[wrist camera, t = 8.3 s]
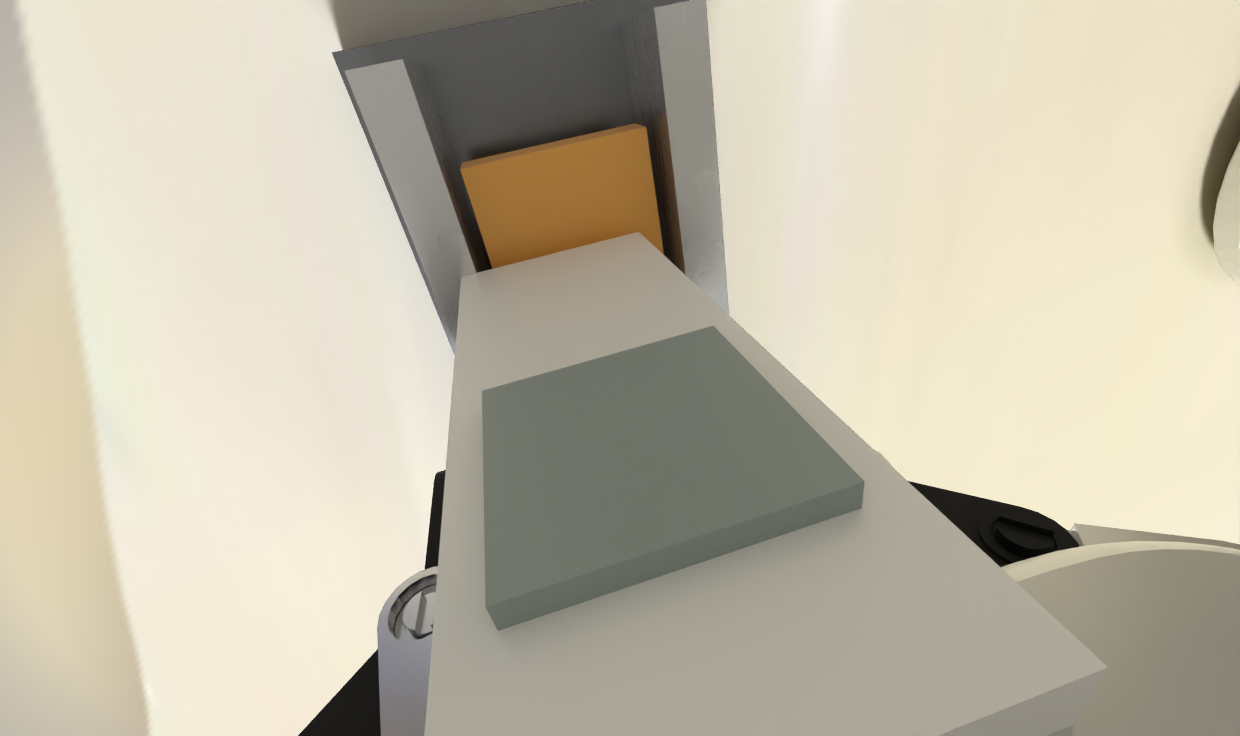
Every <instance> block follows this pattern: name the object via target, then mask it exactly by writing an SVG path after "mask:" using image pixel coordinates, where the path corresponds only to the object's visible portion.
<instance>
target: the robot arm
mask: <svg viewBox="0 0 1240 736" xmlns="http://www.w3.org/2000/svg"><path fill="white" fill-rule="evenodd" d="M1213 236H1214V249H1215V253H1216V255H1217V258H1218V260H1219V263H1220V265H1221V267H1222V269H1223V270H1224V271H1225V272H1226V273H1227V274H1228V275H1229V276H1230V277H1231V278H1232V279H1233V280H1234V281H1237V282H1240V141H1239V143H1238V145H1237V147H1236V150H1235V152H1234V154H1233V156H1232V158H1231V160H1230V163H1229V165H1228V167H1227V170H1226V173H1225V176H1224V179H1223V182H1222V186H1221V189H1220V192H1219V195H1218V198H1217V203H1216V210H1215V216H1214V223H1213ZM873 450H874V449H873ZM875 451H876V450H875ZM876 452H877V451H876ZM877 453H878V454H879V455H880V456H881V457H882V458H883V459H884V460H885V461H886V462H887V463H889V462H888V461H887V460H886V459H885V458H884V457H883V456H882V455H881V454H880V453H879V452H877ZM889 464H890V463H889ZM890 465H891V464H890ZM445 472H446V470H444V471H441V472H438V473H437V474H436V475H435V480H434V488H433V497H432V507H431V516H430V525H429V535H428V544H427V553H426V563H425V570H423V571H420V572H418V573H416V574H415V575H413V576H411V577H410V578H408V579H407V580H405V581H404V582H403V583H402V584H401V585H400V586H399V587H397V588H396V589H395V590H394V592H393V593H392V594H391V595H390V597H389V598H388V599H387V601H386V602H385V604H384V606H383V608H382V610H381V613H380V615H379V620H378V627H377V633H378V649H377V650H376V652H375V653H374V654H373V655H372V656H371V657H370V658H369V659H368V660H367V661H366V662H365V664H364V665H363V666H362V667H361V668H360V669H359V670H358V671H357V672H356V673H355V674H354V676H353V677H352V678H351V679H350V680H349V681H348V682H347V683H346V684H345V685H344V686H343V687H342V689H341V690H340V691H339V692H338V693H337V694H336V695H335V696H334V697H333V698H332V699H331V701H330V702H329V703H328V704H327V705H326V706H325V707H324V708H323V709H322V710H321V711H320V712H319V714H318V715H317V716H316V717H315V718H314V719H313V720H312V721H311V722H310V723H309V724H308V726H307V727H306V728H305V729H304V730H303V731H302V732H301V733H300V734H299V735H298V736H424V734H425V721H426V709H427V697H428V684H429V672H430V659H431V647H432V634H433V622H434V609H435V597H436V584H437V572H438V560H439V547H440V535H441V522H442V510H443V497H444V485H445ZM908 482H909V481H908ZM909 483H910V484H911V485H912V486H913V487H914V488H915V489H917V490H918V491H919V492H920V493H921V494H922V495H923V496H924V497H925V498H926V499H927V500H928V501H929V502H931V503H932V504H933V505H934V506H935V507H936V508H937V509H938V510H939V511H940V512H941V513H942V514H943V515H945V516H946V517H947V518H948V519H949V520H950V521H951V522H952V523H953V524H954V525H955V526H956V527H957V528H959V529H960V530H961V531H962V532H963V533H964V534H965V535H966V536H967V537H968V538H969V539H970V540H971V541H973V542H974V543H975V544H976V545H977V546H978V547H979V548H980V549H981V550H982V551H983V552H984V553H985V554H987V555H988V556H989V557H990V558H991V559H992V560H993V561H994V562H995V563H996V564H997V565H998V566H999V567H1001V568H1002V569H1003V570H1004V571H1005V572H1006V573H1007V574H1008V575H1009V576H1010V577H1011V578H1012V579H1013V580H1015V581H1016V582H1017V583H1018V584H1019V585H1020V586H1021V587H1022V588H1023V589H1024V590H1025V591H1026V592H1027V593H1029V594H1030V595H1031V596H1032V597H1033V598H1034V599H1035V600H1036V601H1037V602H1038V603H1039V604H1040V605H1041V606H1043V607H1044V608H1045V609H1046V610H1047V611H1048V612H1049V613H1050V614H1051V615H1052V616H1053V617H1054V618H1056V619H1057V620H1058V621H1059V622H1060V623H1061V624H1062V625H1063V626H1064V627H1065V628H1066V629H1067V630H1068V631H1070V632H1071V633H1072V634H1073V635H1074V636H1075V637H1076V638H1077V639H1078V640H1079V641H1080V642H1081V643H1082V644H1084V645H1085V646H1086V647H1087V648H1088V649H1089V650H1090V651H1091V652H1092V653H1093V654H1094V655H1095V656H1096V657H1098V658H1099V659H1100V660H1101V661H1102V662H1103V663H1104V664H1105V665H1106V666H1107V667H1108V668H1107V670H1106V671H1105V673H1104V675H1103V676H1102V678H1101V680H1100V681H1099V683H1098V685H1097V686H1096V688H1095V690H1094V691H1093V693H1092V695H1091V696H1090V698H1089V700H1088V701H1087V703H1086V704H1085V706H1084V708H1083V709H1082V711H1081V713H1080V714H1079V716H1078V718H1077V719H1076V721H1075V723H1074V724H1073V725H1072V726H1069V727H1067V728H1064V729H1062V730H1059V731H1057V732H1054V733H1052V734H1049V735H1047V736H1240V545H1239V544H1235V543H1230V542H1225V541H1219V540H1211V539H1202V538H1194V537H1185V536H1177V535H1168V534H1160V533H1151V532H1143V531H1134V530H1126V529H1117V528H1108V527H1100V526H1091V525H1083V524H1074V525H1073V527H1072V529H1071V530H1066V529H1065V528H1063V527H1062V526H1061V525H1059V524H1058V523H1057V522H1055V521H1054V520H1052V519H1050V518H1048V517H1046V516H1044V515H1042V514H1040V513H1038V512H1035V511H1032V510H1029V509H1026V508H1023V507H1019V506H1015V505H1010V504H1006V503H1001V502H997V501H993V500H988V499H984V498H980V497H975V496H971V495H966V494H962V493H958V492H953V491H949V490H944V489H940V488H936V487H931V486H927V485H923V484H918V483H914V482H909Z"/></svg>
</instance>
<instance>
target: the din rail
mask: <svg viewBox="0 0 1240 736" xmlns="http://www.w3.org/2000/svg"><path fill="white" fill-rule="evenodd" d="M332 54H333V57H334V59H335V62H336V64H337V66H338V69H339V71H340V74H341V76H342V79H343V81H344V84H345V86H346V89H347V91H348V94H349V96H350V99H351V101H352V103H353V106H354V108H355V111H356V113H357V116H358V118H359V121H360V123H361V126H362V128H363V131H364V133H365V135H366V138H367V140H368V143H369V145H370V148H371V150H372V153H373V155H374V158H375V160H376V163H377V165H378V167H379V170H380V172H381V175H382V177H383V180H384V182H385V185H386V187H387V190H388V192H389V195H390V197H391V200H392V202H393V204H394V207H395V209H396V212H397V214H398V217H399V219H400V222H401V224H402V227H403V229H404V232H405V234H406V236H407V239H408V241H409V244H410V246H411V249H412V251H413V254H414V256H415V259H416V261H417V264H418V266H419V269H420V271H421V273H422V276H423V278H424V281H425V283H426V286H427V288H428V291H429V293H430V296H431V298H432V301H433V303H434V305H435V308H436V310H437V313H438V315H439V318H440V320H441V323H442V325H443V328H444V330H445V333H446V335H447V337H448V340H449V342H450V345H451V347H452V350H453V352H454V355H455V348H456V335H457V323H458V311H459V298H460V286H461V277H463V276H467V275H471V274H475V273H478V272H482V271H486V270H490V269H493V268H492V265H491V262H490V259H489V256H488V253H487V250H486V247H485V244H484V241H483V238H482V235H481V232H480V229H479V226H478V223H477V219H476V216H475V213H474V210H473V207H472V204H471V201H470V198H469V195H468V192H467V189H466V186H465V183H464V180H463V177H462V174H461V171H460V168H461V165H462V162H466V161H471V160H475V159H480V158H484V157H488V156H493V155H497V154H502V153H506V152H511V151H515V150H519V149H524V148H528V147H533V146H537V145H541V144H546V143H550V142H555V141H559V140H564V139H568V138H572V137H577V136H581V135H586V134H590V133H595V132H599V131H603V130H608V129H612V128H617V127H621V126H626V125H630V124H634V123H635V124H638V125H642V126H645V127H646V129H647V136H648V143H649V150H650V158H651V165H652V172H653V179H654V186H655V194H656V201H657V208H658V215H659V223H660V230H661V237H662V244H663V251H664V256H665V257H667V258H668V259H669V260H670V261H671V262H672V263H673V264H674V265H675V266H676V267H677V268H678V269H679V270H681V271H682V272H683V273H684V274H685V275H686V276H687V277H688V278H689V279H690V280H691V281H692V282H694V283H695V284H696V285H697V286H698V287H699V288H700V289H701V290H702V291H703V292H704V293H705V294H706V295H708V296H709V297H710V298H711V299H712V300H713V301H714V302H715V303H716V304H717V305H718V306H719V307H720V308H722V309H723V310H724V311H725V312H726V313H727V314H728V315H729V308H728V294H727V280H726V267H725V253H724V240H723V226H722V212H721V199H720V185H719V172H718V158H717V144H716V131H715V117H714V103H713V90H712V76H711V63H710V49H709V35H708V22H707V8H706V0H593V1H588V2H583V3H578V4H573V5H568V6H563V7H558V8H553V9H548V10H543V11H538V12H533V13H528V14H523V15H518V16H513V17H508V18H503V19H498V20H493V21H488V22H483V23H478V24H473V25H468V26H463V27H458V28H453V29H448V30H443V31H438V32H433V33H428V34H423V35H418V36H413V37H408V38H403V39H398V40H393V41H388V42H382V43H377V44H372V45H367V46H362V47H357V48H352V49H347V50H342V51H337V52H332Z"/></svg>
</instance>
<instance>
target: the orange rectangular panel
mask: <svg viewBox="0 0 1240 736" xmlns="http://www.w3.org/2000/svg"><path fill="white" fill-rule="evenodd" d="M460 171H461V174H462V177H463V180H464V183H465V186H466V189H467V192H468V195H469V198H470V201H471V204H472V207H473V210H474V213H475V216H476V219H477V223H478V226H479V229H480V232H481V235H482V238H483V241H484V244H485V247H486V250H487V253H488V256H489V259H490V262H491V265H492V268H493V269H494V268H498V267H502V266H506V265H510V264H514V263H517V262H521V261H525V260H529V259H533V258H537V257H541V256H545V255H549V254H553V253H557V252H561V251H565V250H569V249H573V248H576V247H580V246H584V245H588V244H592V243H596V242H600V241H604V240H608V239H612V238H616V237H620V236H624V235H628V234H632V233H635V232H640V233H641V234H642V235H643V236H644V237H645V238H646V239H647V240H648V241H649V242H650V243H651V244H653V245H654V246H655V247H656V248H657V249H658V250H659V251H660V252H661V253H662V254H663V255H664V251H663V244H662V237H661V230H660V223H659V215H658V208H657V201H656V194H655V186H654V179H653V172H652V165H651V158H650V150H649V143H648V136H647V129H646V127H645V126H642V125H638V124H635V123H634V124H630V125H626V126H621V127H617V128H612V129H608V130H603V131H599V132H595V133H590V134H586V135H581V136H577V137H572V138H568V139H564V140H559V141H555V142H550V143H546V144H541V145H537V146H533V147H528V148H524V149H519V150H515V151H511V152H506V153H502V154H497V155H493V156H488V157H484V158H480V159H475V160H471V161H466V162H462V165H461V168H460Z"/></svg>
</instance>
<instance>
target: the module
mask: <svg viewBox="0 0 1240 736" xmlns="http://www.w3.org/2000/svg"><path fill="white" fill-rule="evenodd" d="M1107 668H1108V667H1107V666H1106V665H1105V664H1104V663H1103V662H1102V661H1101V660H1100V659H1099V658H1098V657H1096V656H1095V655H1094V654H1093V653H1092V652H1091V651H1090V650H1089V649H1088V648H1087V647H1086V646H1085V645H1084V644H1082V643H1081V642H1080V641H1079V640H1078V639H1077V638H1076V637H1075V636H1074V635H1073V634H1072V633H1071V632H1070V631H1068V630H1067V629H1066V628H1065V627H1064V626H1063V625H1062V624H1061V623H1060V622H1059V621H1058V620H1057V619H1056V618H1054V617H1053V616H1052V615H1051V614H1050V613H1049V612H1048V611H1047V610H1046V609H1045V608H1044V607H1043V606H1041V605H1040V604H1039V603H1038V602H1037V601H1036V600H1035V599H1034V598H1033V597H1032V596H1031V595H1030V594H1029V593H1027V592H1026V591H1025V590H1024V589H1023V588H1022V587H1021V586H1020V585H1019V584H1018V583H1017V582H1016V581H1015V580H1013V579H1012V578H1011V577H1010V576H1009V575H1008V574H1007V573H1006V572H1005V571H1004V570H1003V569H1002V568H1001V567H999V566H998V565H997V564H996V563H995V562H994V561H993V560H992V559H991V558H990V557H989V556H988V555H987V554H985V553H984V552H983V551H982V550H981V549H980V548H979V547H978V546H977V545H976V544H975V543H974V542H973V541H971V540H970V539H969V538H968V537H967V536H966V535H965V534H964V533H963V532H962V531H961V530H960V529H959V528H957V527H956V526H955V525H954V524H953V523H952V522H951V521H950V520H949V519H948V518H947V517H946V516H945V515H943V514H942V513H941V512H940V511H939V510H938V509H937V508H936V507H935V506H934V505H933V504H932V503H931V502H929V501H928V500H927V499H926V498H925V497H924V496H923V495H922V494H921V493H920V492H919V491H918V490H917V489H915V488H914V487H913V486H912V485H911V484H910V483H909V482H908V481H907V480H906V479H905V478H904V477H903V476H901V475H900V474H899V473H898V472H897V471H896V470H895V469H894V468H893V467H892V466H891V465H890V464H889V463H887V462H886V461H885V460H884V459H883V458H882V457H881V456H880V455H879V454H878V453H877V452H876V451H875V450H873V449H872V448H871V447H870V446H869V445H868V444H867V443H866V442H865V441H864V440H863V439H862V438H860V437H859V436H858V435H857V434H856V433H855V432H854V431H853V430H852V429H851V428H850V427H849V426H848V425H846V424H845V423H844V422H843V421H842V420H841V419H840V418H839V417H838V416H837V415H836V414H835V413H834V412H832V411H831V410H830V409H829V408H828V407H827V406H826V405H825V404H824V403H823V402H822V401H821V400H820V399H818V398H817V397H816V396H815V395H814V394H813V393H812V392H811V391H810V390H809V389H808V388H807V387H806V386H804V385H803V384H802V383H801V382H800V381H799V380H798V379H797V378H796V377H795V376H794V375H793V374H792V373H790V372H789V371H788V370H787V369H786V368H785V367H784V366H783V365H782V364H781V363H780V362H779V361H778V360H776V359H775V358H774V357H773V356H772V355H771V354H770V353H769V352H768V351H767V350H766V349H765V348H764V347H762V346H761V345H760V344H759V343H758V342H757V341H756V340H755V339H754V338H753V337H752V336H751V335H750V334H748V333H747V332H746V331H745V330H744V329H743V328H742V327H741V326H740V325H739V324H738V323H737V322H736V321H734V320H733V319H732V318H731V317H730V316H729V315H728V314H727V313H726V312H725V311H724V310H723V309H722V308H720V307H719V306H718V305H717V304H716V303H715V302H714V301H713V300H712V299H711V298H710V297H709V296H708V295H706V294H705V293H704V292H703V291H702V290H701V289H700V288H699V287H698V286H697V285H696V284H695V283H694V282H692V281H691V280H690V279H689V278H688V277H687V276H686V275H685V274H684V273H683V272H682V271H681V270H679V269H678V268H677V267H676V266H675V265H674V264H673V263H672V262H671V261H670V260H669V259H668V258H667V257H665V256H664V255H663V254H662V253H661V252H660V251H659V250H658V249H657V248H656V247H655V246H654V245H653V244H651V243H650V242H649V241H648V240H647V239H646V238H645V237H644V236H643V235H642V234H641V233H640V232H635V233H632V234H628V235H624V236H620V237H616V238H612V239H608V240H604V241H600V242H596V243H592V244H588V245H584V246H580V247H576V248H573V249H569V250H565V251H561V252H557V253H553V254H549V255H545V256H541V257H537V258H533V259H529V260H525V261H521V262H517V263H514V264H510V265H506V266H502V267H498V268H494V269H490V270H486V271H482V272H478V273H475V274H471V275H467V276H463V277H461V286H460V298H459V311H458V323H457V335H456V348H455V360H454V373H453V385H452V398H451V410H450V423H449V435H448V448H447V460H446V472H445V485H444V497H443V510H442V522H441V535H440V547H439V560H438V572H437V584H436V597H435V609H434V622H433V634H432V647H431V659H430V672H429V684H428V697H427V709H426V721H425V734H424V736H1047V735H1049V734H1052V733H1054V732H1057V731H1059V730H1062V729H1064V728H1067V727H1069V726H1072V725H1073V724H1074V723H1075V721H1076V719H1077V718H1078V716H1079V714H1080V713H1081V711H1082V709H1083V708H1084V706H1085V704H1086V703H1087V701H1088V700H1089V698H1090V696H1091V695H1092V693H1093V691H1094V690H1095V688H1096V686H1097V685H1098V683H1099V681H1100V680H1101V678H1102V676H1103V675H1104V673H1105V671H1106V670H1107Z"/></svg>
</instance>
